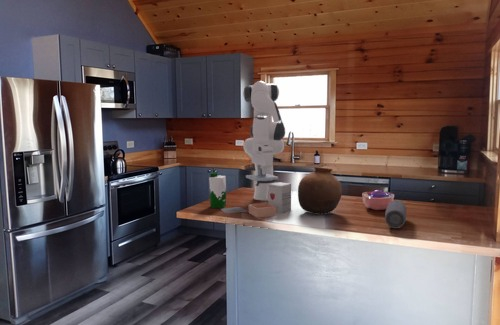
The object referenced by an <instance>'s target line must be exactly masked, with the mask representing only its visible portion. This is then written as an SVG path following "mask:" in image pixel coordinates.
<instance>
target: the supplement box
mask: <svg viewBox="0 0 500 325" xmlns="http://www.w3.org/2000/svg"><path fill="white" fill-rule="evenodd" d="M268 203H269V204H271V205H274V206H276V213H281V214H282V213H283V214H284V213H286V212H289V211H292V183H288V182H280V181H279V182H278V181H277V182H276V183H272V184H269V201H268Z"/></svg>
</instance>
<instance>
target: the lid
mask: <svg viewBox="0 0 500 325" xmlns="http://www.w3.org/2000/svg"><path fill="white" fill-rule="evenodd" d="M261 171H262V168H258V175H256V174H246V175H245V178H246V179H249V180H251V181H254V182H255V181H262V180H275V179H278V180H279V176H276V175H274V174H273V175H271V174H261ZM275 181H276V180H275Z"/></svg>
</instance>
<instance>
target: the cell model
mask: <svg viewBox="0 0 500 325" xmlns="http://www.w3.org/2000/svg"><path fill="white" fill-rule="evenodd" d="M361 196H362V202H363V204H364V205H365V207H367V208H369V209H372V210H374V211H384V210H386V209H387V206H388V204H389V203H390V202H392V201H394V198H395V194H394V193H392V192H388V191H385V190H384V189H382V190H381V189H376V190H373V191H365V192H362V195H361Z"/></svg>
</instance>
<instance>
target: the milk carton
mask: <svg viewBox="0 0 500 325" xmlns="http://www.w3.org/2000/svg"><path fill="white" fill-rule="evenodd" d="M209 174H210V176H209V178H208V181H209V182H208V183H209V201H210V203H209V204H210V208H211V209H223V208H226V207H225V206H226V205H227V181H226V180H227V178H226V177H227V176H226V175H218V172H210V173H209Z"/></svg>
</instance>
